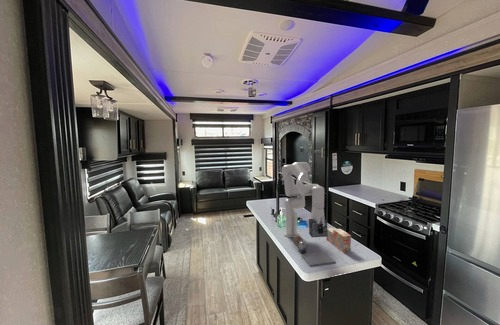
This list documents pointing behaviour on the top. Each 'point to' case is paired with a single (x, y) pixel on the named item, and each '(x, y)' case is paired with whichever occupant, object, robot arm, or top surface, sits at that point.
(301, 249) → the metallic grey egg
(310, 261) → the slate board
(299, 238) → the walnut block
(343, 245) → the stack of blocks
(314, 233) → the small box
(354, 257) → the top surface
